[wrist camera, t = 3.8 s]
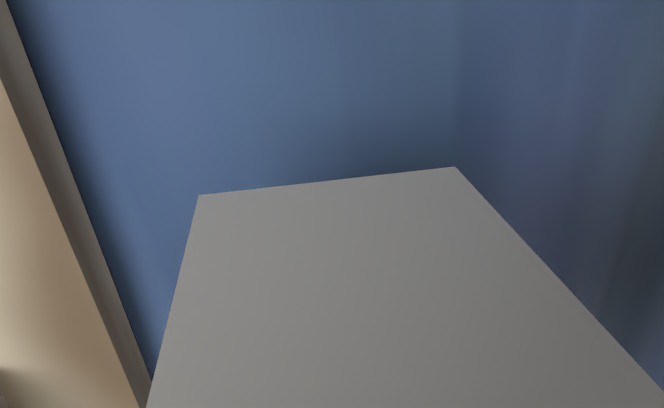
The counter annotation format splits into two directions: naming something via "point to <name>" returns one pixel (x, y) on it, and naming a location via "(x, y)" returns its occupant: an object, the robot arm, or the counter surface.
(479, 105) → the counter surface
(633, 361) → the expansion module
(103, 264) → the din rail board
